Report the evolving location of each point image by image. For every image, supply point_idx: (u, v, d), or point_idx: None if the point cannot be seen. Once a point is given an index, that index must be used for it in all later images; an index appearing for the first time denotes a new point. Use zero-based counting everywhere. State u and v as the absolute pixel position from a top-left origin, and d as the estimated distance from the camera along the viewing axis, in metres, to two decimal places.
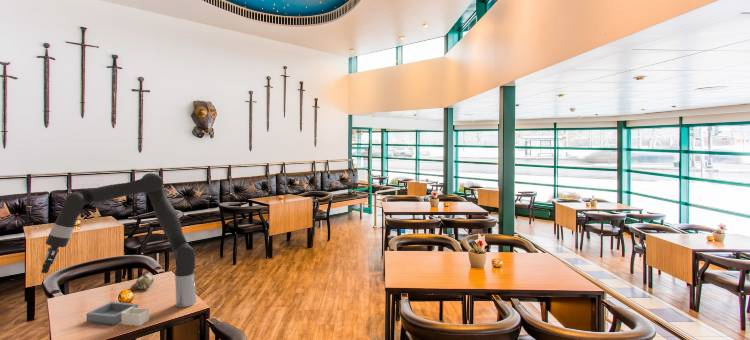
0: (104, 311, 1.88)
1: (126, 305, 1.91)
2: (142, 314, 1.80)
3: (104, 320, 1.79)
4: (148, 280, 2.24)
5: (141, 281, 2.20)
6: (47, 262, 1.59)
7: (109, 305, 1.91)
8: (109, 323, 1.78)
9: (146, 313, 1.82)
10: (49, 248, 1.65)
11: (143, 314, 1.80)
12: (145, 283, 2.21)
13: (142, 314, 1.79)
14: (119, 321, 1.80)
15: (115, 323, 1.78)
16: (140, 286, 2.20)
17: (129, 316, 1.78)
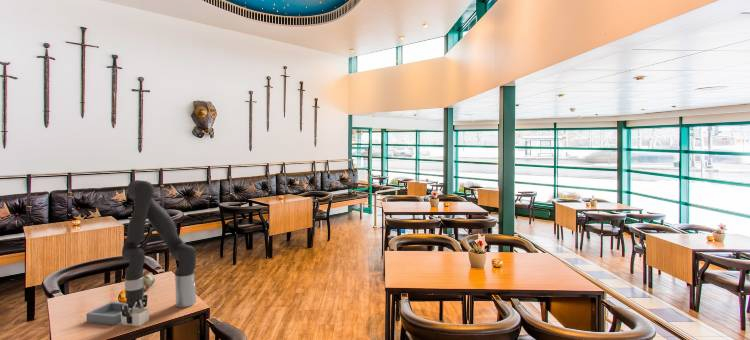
0: (104, 311, 1.88)
1: None
2: (142, 314, 1.79)
3: (104, 320, 1.79)
4: (149, 280, 2.23)
5: None
6: (123, 315, 1.75)
7: (109, 305, 1.91)
8: (109, 323, 1.78)
9: (146, 313, 1.82)
10: None
11: (143, 314, 1.80)
12: (145, 283, 2.20)
13: (142, 314, 1.79)
14: (119, 321, 1.80)
15: (115, 323, 1.78)
16: None
17: None
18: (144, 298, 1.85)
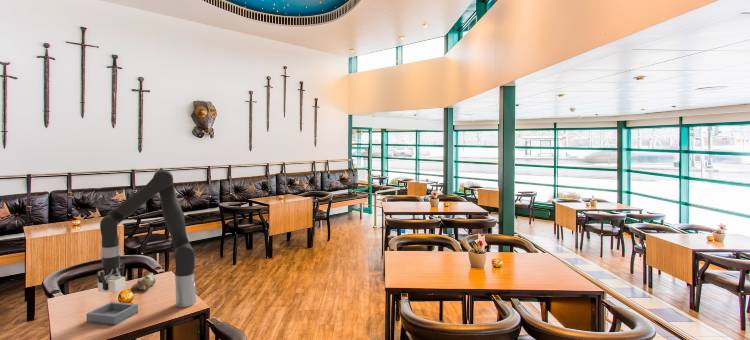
0: (104, 311, 1.88)
1: (126, 305, 1.91)
2: (118, 281, 1.83)
3: (104, 320, 1.79)
4: (149, 281, 2.22)
5: (141, 282, 2.19)
6: (99, 281, 1.79)
7: (109, 305, 1.91)
8: (109, 323, 1.78)
9: (123, 281, 1.85)
10: None
11: (119, 281, 1.83)
12: (145, 284, 2.20)
13: (118, 281, 1.83)
14: (119, 321, 1.80)
15: (115, 323, 1.78)
16: (140, 287, 2.19)
17: None
18: (121, 266, 1.89)
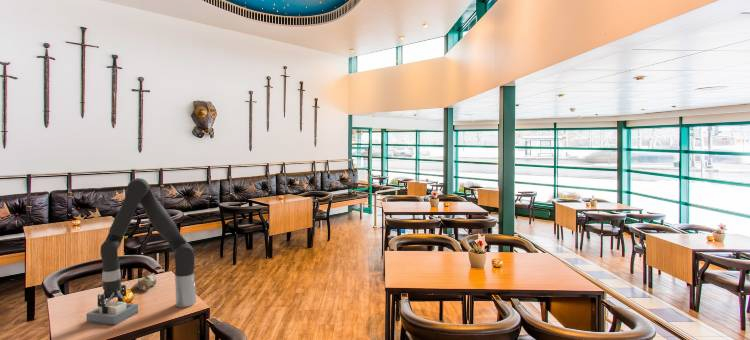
0: None
1: (126, 305, 1.91)
2: (120, 307, 1.84)
3: (104, 320, 1.79)
4: (149, 281, 2.22)
5: (141, 282, 2.18)
6: (98, 305, 1.79)
7: None
8: (109, 323, 1.78)
9: (124, 306, 1.87)
10: None
11: (120, 307, 1.84)
12: (145, 284, 2.19)
13: (119, 307, 1.84)
14: (119, 321, 1.80)
15: (115, 323, 1.78)
16: (140, 287, 2.19)
17: None
18: (122, 288, 1.90)
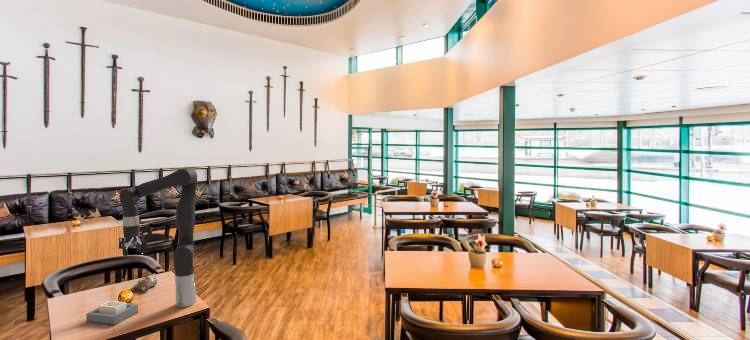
0: None
1: (126, 305, 1.91)
2: (120, 307, 1.84)
3: (104, 320, 1.79)
4: (149, 282, 2.21)
5: (141, 283, 2.18)
6: (120, 247, 1.93)
7: None
8: (109, 323, 1.78)
9: (124, 306, 1.87)
10: None
11: (120, 307, 1.84)
12: (145, 285, 2.18)
13: (119, 307, 1.84)
14: (119, 321, 1.80)
15: (115, 323, 1.78)
16: (140, 287, 2.18)
17: (106, 309, 1.83)
18: (140, 235, 2.05)
